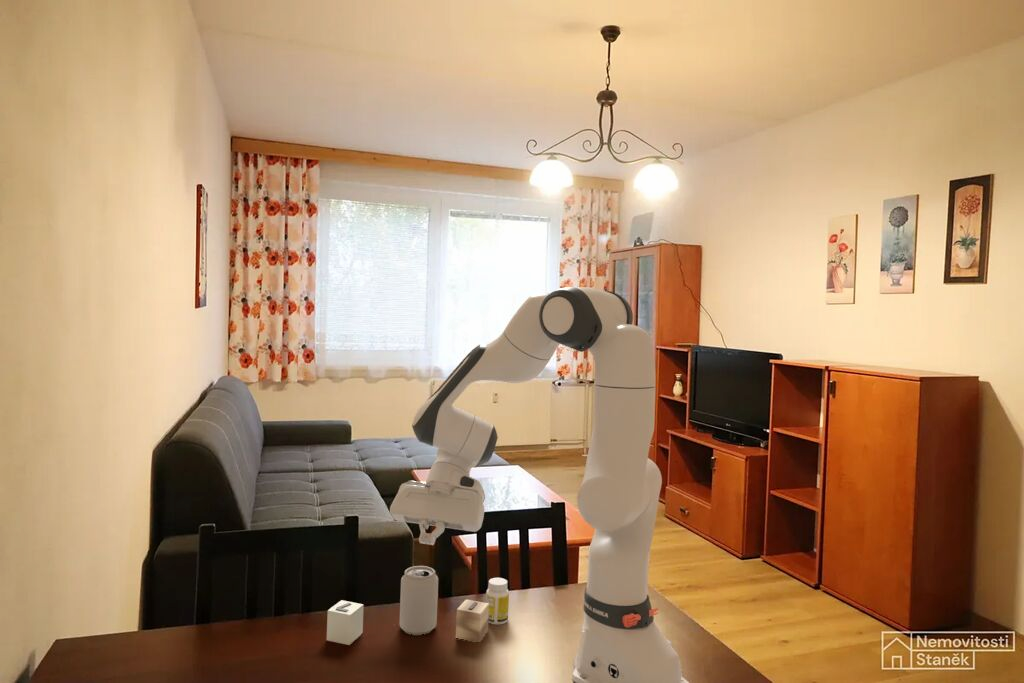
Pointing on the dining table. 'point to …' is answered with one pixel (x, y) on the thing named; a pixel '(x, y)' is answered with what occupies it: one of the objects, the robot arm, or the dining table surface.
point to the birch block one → (472, 620)
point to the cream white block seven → (345, 622)
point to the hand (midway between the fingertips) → (425, 543)
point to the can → (418, 600)
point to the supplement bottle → (497, 601)
